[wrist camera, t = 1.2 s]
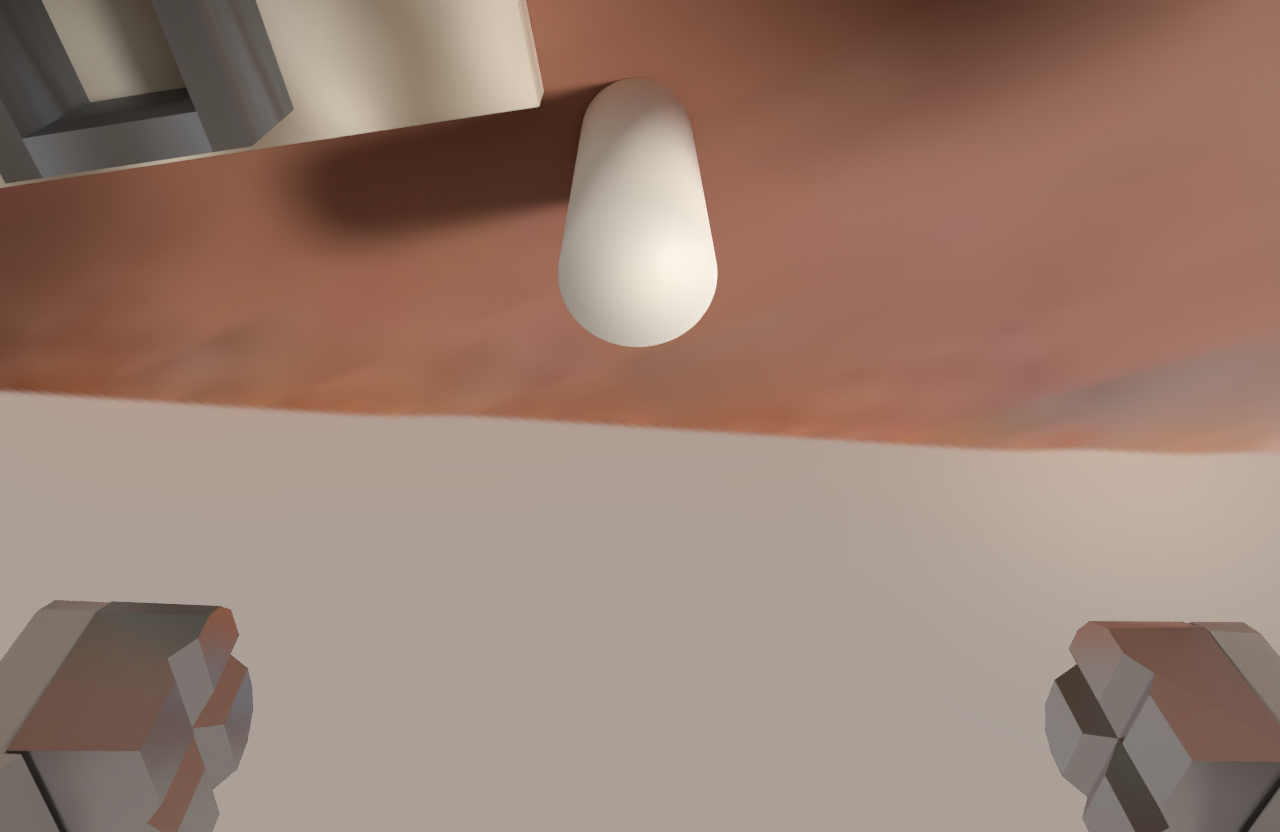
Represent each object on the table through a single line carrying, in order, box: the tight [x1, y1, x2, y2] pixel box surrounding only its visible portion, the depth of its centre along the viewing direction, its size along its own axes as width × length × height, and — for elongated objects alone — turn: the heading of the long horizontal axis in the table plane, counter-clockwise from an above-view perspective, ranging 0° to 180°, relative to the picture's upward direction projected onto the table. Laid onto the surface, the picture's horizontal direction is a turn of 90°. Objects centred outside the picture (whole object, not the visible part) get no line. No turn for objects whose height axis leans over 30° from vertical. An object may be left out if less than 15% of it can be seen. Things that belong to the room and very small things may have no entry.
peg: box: [558, 78, 717, 347], centre depth 28 cm, size 4×4×12 cm
